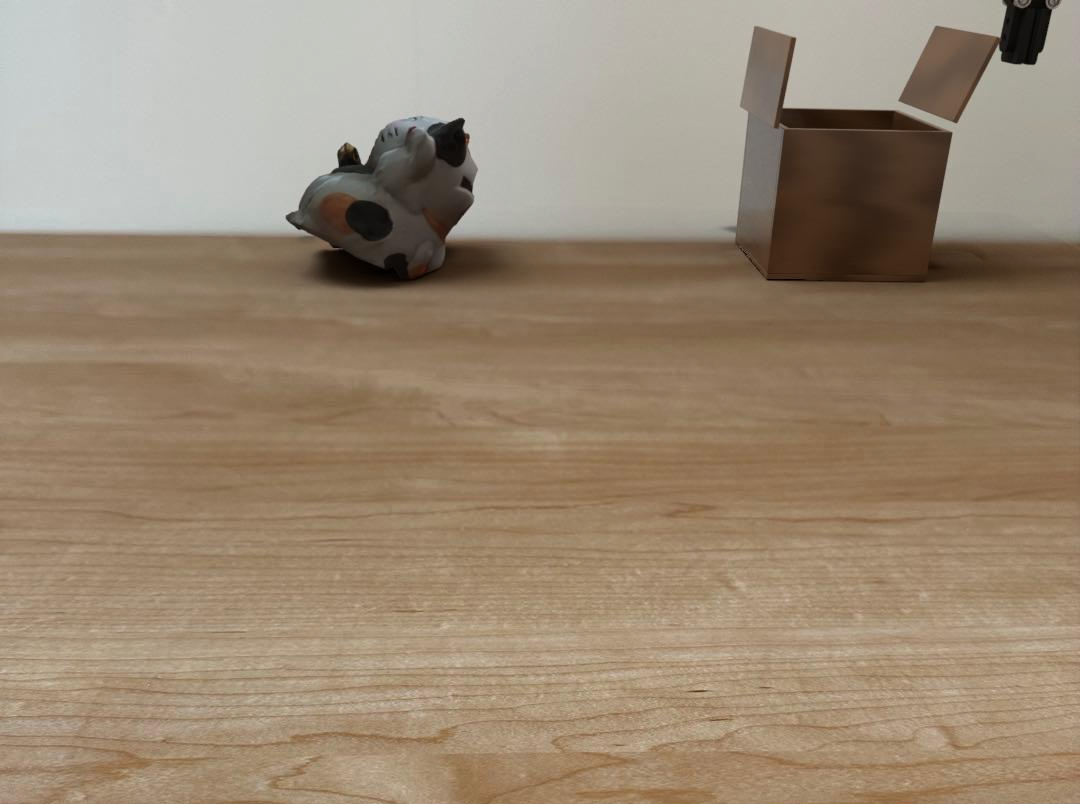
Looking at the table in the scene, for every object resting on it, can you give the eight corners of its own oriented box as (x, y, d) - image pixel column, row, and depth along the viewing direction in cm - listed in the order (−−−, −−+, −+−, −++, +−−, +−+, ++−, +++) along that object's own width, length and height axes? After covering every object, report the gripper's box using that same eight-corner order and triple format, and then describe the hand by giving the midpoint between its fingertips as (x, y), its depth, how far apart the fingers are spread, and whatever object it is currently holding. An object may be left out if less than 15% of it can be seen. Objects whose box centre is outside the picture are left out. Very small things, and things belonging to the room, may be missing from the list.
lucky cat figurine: (322, 238, 99) (391, 88, 96) (442, 304, 99) (515, 155, 96) (258, 223, 85) (337, 45, 82) (399, 300, 84) (484, 124, 81)
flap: (897, 100, 97) (901, 102, 98) (952, 121, 86) (957, 123, 86) (935, 25, 95) (939, 27, 95) (997, 36, 83) (1001, 38, 83)
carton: (876, 244, 103) (910, 29, 95) (925, 282, 92) (969, 41, 83) (726, 242, 102) (747, 25, 94) (756, 279, 91) (784, 36, 83)
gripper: (1149, -202, 86) (1086, 61, 94) (955, -211, 85) (909, 56, 93) (1205, -214, 79) (1132, 71, 87) (995, -224, 78) (942, 64, 87)
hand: (1017, 62), depth 90 cm, fingers closed
